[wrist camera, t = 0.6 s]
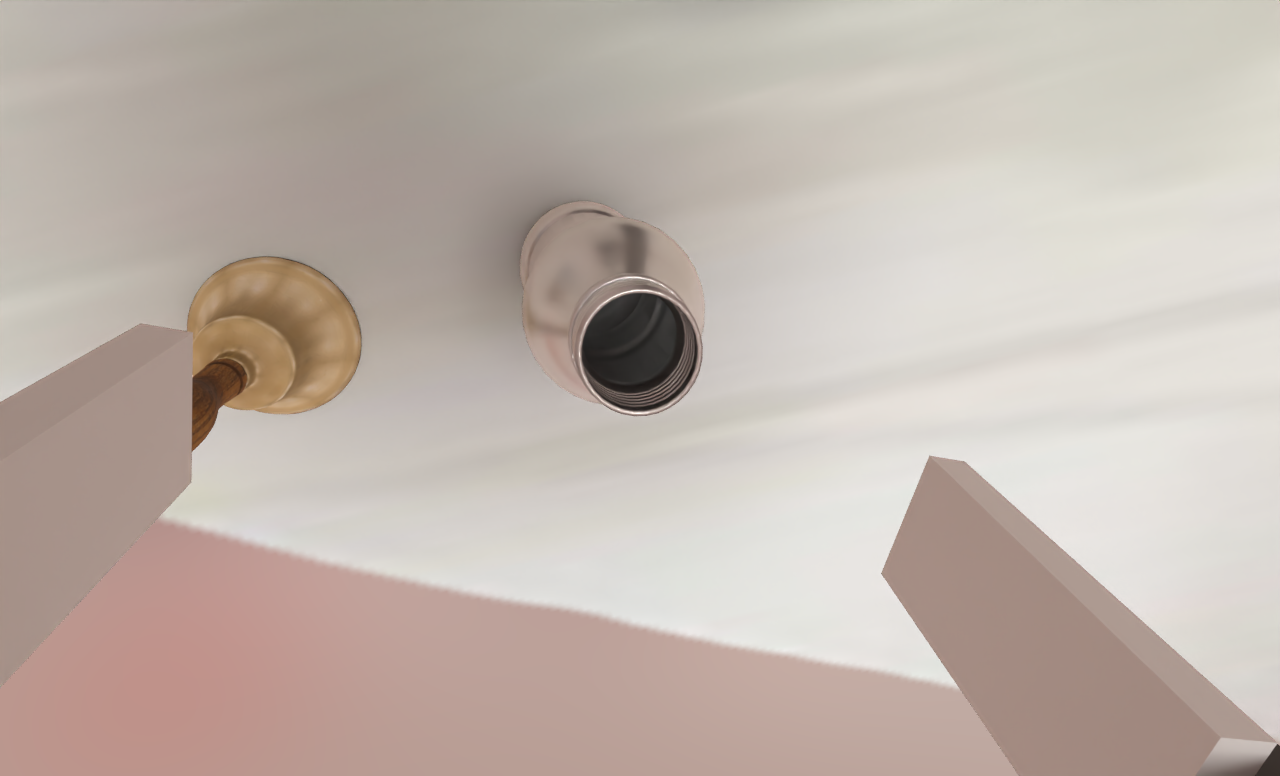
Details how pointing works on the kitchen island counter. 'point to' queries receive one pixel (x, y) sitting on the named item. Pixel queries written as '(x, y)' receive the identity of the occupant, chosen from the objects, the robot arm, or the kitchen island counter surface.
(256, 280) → the hand bell
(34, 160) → the kitchen island counter surface
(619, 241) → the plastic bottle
